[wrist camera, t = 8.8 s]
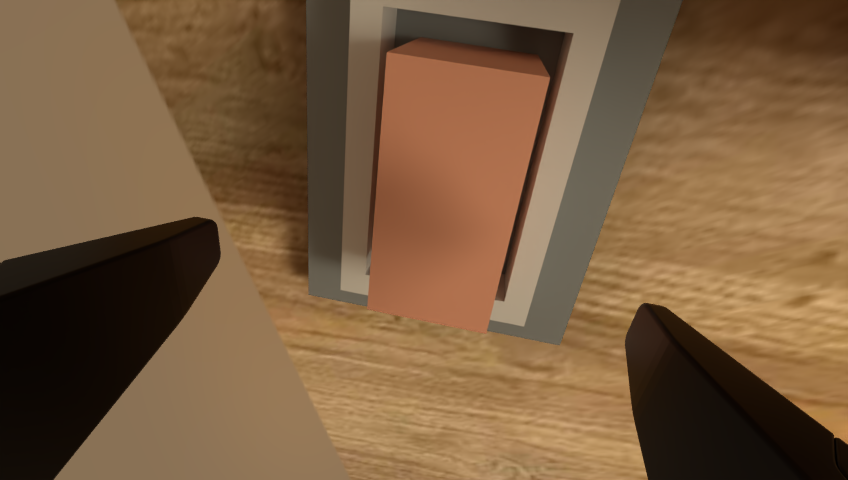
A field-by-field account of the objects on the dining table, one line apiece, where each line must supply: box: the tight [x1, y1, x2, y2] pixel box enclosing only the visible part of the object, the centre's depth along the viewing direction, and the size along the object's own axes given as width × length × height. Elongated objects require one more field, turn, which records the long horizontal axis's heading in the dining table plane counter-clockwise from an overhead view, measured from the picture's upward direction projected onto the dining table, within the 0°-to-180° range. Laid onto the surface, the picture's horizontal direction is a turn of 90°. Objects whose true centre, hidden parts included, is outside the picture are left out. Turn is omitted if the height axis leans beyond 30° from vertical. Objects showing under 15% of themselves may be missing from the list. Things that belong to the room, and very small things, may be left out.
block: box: [367, 37, 550, 334], centre depth 15 cm, size 8×4×5 cm, turn 173°
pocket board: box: [306, 0, 683, 345], centre depth 17 cm, size 16×12×4 cm
